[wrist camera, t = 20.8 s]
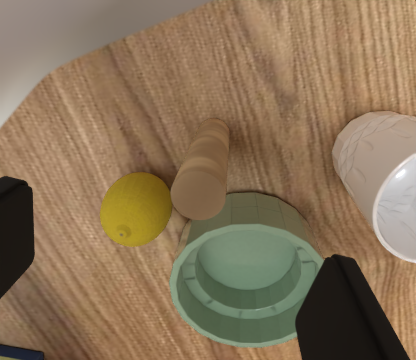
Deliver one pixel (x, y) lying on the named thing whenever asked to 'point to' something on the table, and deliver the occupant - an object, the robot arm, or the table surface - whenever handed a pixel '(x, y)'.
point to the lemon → (136, 209)
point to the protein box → (19, 354)
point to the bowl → (245, 271)
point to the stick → (203, 173)
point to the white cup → (382, 176)
